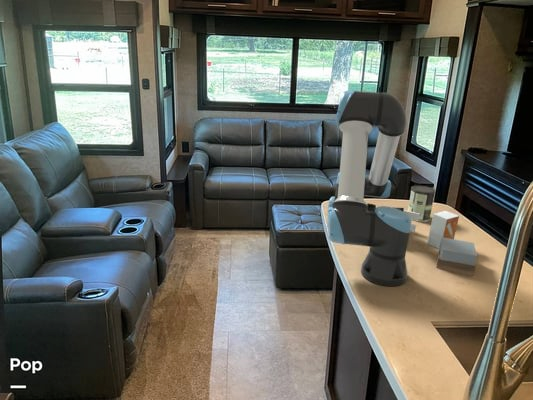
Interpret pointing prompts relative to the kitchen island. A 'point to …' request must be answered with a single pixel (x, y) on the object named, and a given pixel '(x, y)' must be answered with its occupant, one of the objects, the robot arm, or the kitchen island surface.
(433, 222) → the small box
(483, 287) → the kitchen island surface
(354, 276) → the kitchen island surface
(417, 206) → the coffee can
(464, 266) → the lower block
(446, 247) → the upper block
